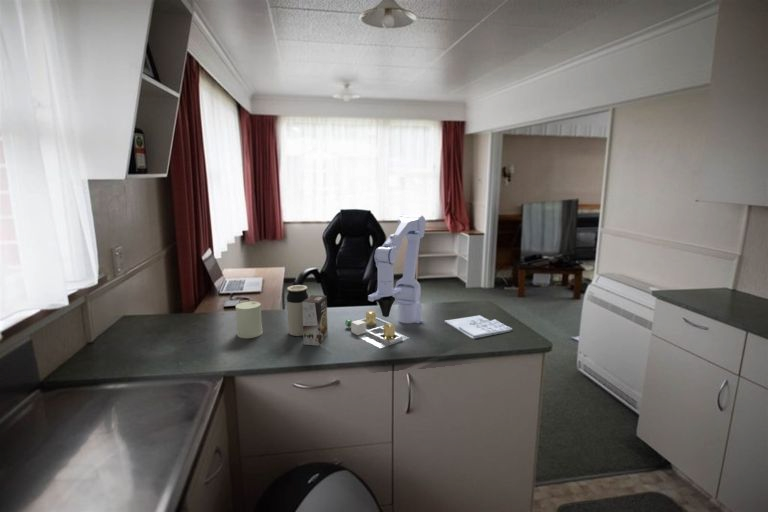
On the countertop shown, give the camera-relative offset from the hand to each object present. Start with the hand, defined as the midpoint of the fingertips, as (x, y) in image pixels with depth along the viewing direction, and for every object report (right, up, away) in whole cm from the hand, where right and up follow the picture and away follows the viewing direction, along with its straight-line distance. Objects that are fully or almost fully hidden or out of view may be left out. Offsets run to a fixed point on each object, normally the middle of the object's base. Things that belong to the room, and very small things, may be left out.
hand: (385, 316), depth 151 cm
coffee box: (-26, -9, +1) cm, 27 cm away
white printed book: (+37, -7, +15) cm, 41 cm away
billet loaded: (+1, -8, -2) cm, 9 cm away
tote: (-6, -6, +15) cm, 17 cm away
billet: (-6, -6, +15) cm, 17 cm away
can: (-52, -8, +8) cm, 53 cm away
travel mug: (-33, -8, +9) cm, 35 cm away
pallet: (-1, -9, +1) cm, 9 cm away
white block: (-10, -8, +6) cm, 14 cm away
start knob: (-12, -6, +8) cm, 16 cm away
